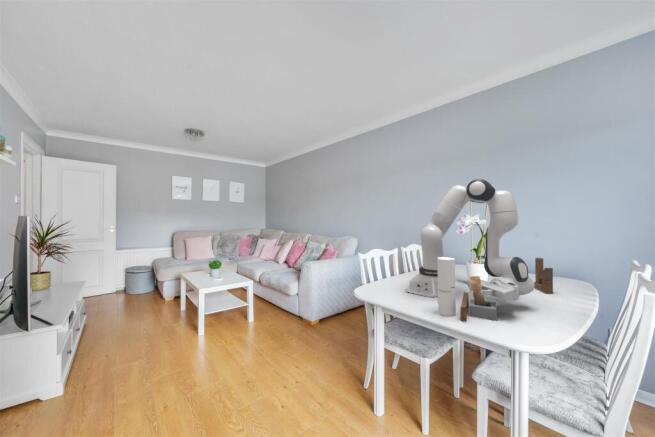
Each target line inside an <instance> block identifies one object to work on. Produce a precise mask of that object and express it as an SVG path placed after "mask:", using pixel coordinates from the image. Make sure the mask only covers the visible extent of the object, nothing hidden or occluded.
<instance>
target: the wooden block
mask: <svg viewBox="0 0 655 437" xmlns="http://www.w3.org/2000/svg"><path fill="white" fill-rule="evenodd" d="M534 261H535V262H534V263H535V264H534V266H535V268H534V269H535V272H534V274H535V275H534V276H535V281H533V282H534V289H536V290H538V291H540V292H541V293H543V294H545V295H549V294H550V295H553V294H554V275H553V274H554V273H553V272H554V269H553V267H544V258H543V257H535V260H534Z"/></svg>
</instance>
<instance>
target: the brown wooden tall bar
mask: <svg viewBox="0 0 655 437" xmlns="http://www.w3.org/2000/svg"><path fill="white" fill-rule="evenodd" d="M469 280H470V282H471V287H472V295H473V299H474V301H475V305H479V306H486V304H485V301H486V299H485V296H484V295H482V294H479V290H482V285H481V281H480V280H481V277H480V276H479V275H474V276H473V275H472V276H469Z"/></svg>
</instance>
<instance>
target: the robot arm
mask: <svg viewBox="0 0 655 437" xmlns="http://www.w3.org/2000/svg"><path fill="white" fill-rule="evenodd" d="M469 202H472V203H477V204H485V203H486V205H487V206H488V209H489V210H488V211H489V217H490V218H489V224H488V227H487V228H486V229H485V230H486V231H485V256H484V257H485V258H484V263H483V269H484V270H485V272H486V273H487V275H488V276H491V277H492V279H491V280H490V281H487V280H484V279H480V281H481V285H482V290H479V294H482V295H486V296H491V297H494V298H496V299H499V300H502V301H515V302H516V301H519V297H520V296H525V295H527V294H531V292H533V291H534V289H535V288H534V282H535V281H534V280H533V279H532V277H530V276H529V268H528V265H527V263H526V261H525V260H523V258H521V257H519V256H500V240H501V238H502V237H503V236H504V235H506V234H507V233H509V232H511V231H512V230H514V229H515V227H517V225H518V223H519V214H518V208H517V204H516V200H515V198H514V196H513V193H512V192H510V191H509V190H496V188H494V186H493V185H492V184H491V183H490V182H489V181H488V180H486V179H483V178H476V179H473V180H471V181H470V182H469V183H468V184H467V186H464V185H459V184H457V185H453V186H452V187H451V188H450V189H449V190H448V192H447V193H446V194H445V195H444V197H443V198H442V200H441V201H440V203H439V204H438V206H437V208H436V209H435V211H434V213H433V214H432V216H431V218H430V220H429V221H428V223H427V225H426V226H424V227H423V228H422V229H421V230H420V246H421V253H422V265H421V266H420V267H419V268H418V274H416V275H415V276H413V277H412V278H411V279H410V281H409V283H408V285H407V286H406V287H405V288H404V289H405V290H404V291H405V293H408V292H409V293H408V294H413V293H414V294H413V295H417V294H418V296H423V297H427V298H435V297H438V265H437V258H439V257H444V247H443V245H444V244H443V238H444V237H445V235H446V234H447V232H448V231H449V229H450V228H451V227H452V225H453V223H454V222H455V220H457V217H458V216H459V214H460V213H461V211H462V210H463V209H464V207H465V205H466V204H467V203H469ZM467 286H468V290H469V291H472V287H471V282H470V279H469V280H468V281H467ZM472 292H473V291H472Z"/></svg>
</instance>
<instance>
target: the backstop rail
mask: <svg viewBox="0 0 655 437" xmlns="http://www.w3.org/2000/svg"><path fill="white" fill-rule="evenodd" d="M460 303H461V304H460V322H467V319H468V312H469V304H470V299H469V292H465V291H464V292H463V295H462V299H461V302H460Z"/></svg>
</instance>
